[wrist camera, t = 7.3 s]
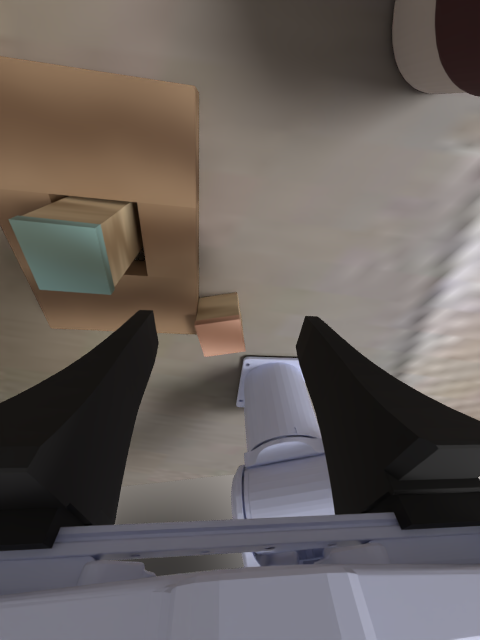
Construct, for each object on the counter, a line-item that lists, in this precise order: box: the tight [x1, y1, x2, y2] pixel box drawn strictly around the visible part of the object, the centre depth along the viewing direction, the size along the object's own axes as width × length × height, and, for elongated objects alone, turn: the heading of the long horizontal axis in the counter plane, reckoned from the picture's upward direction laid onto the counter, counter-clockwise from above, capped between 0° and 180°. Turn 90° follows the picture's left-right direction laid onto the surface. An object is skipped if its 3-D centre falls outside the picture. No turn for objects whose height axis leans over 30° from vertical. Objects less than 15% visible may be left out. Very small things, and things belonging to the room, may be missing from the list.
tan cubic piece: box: [194, 292, 245, 357], centre depth 21 cm, size 4×4×4 cm
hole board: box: [0, 56, 199, 334], centre depth 17 cm, size 16×12×2 cm
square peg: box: [8, 196, 143, 295], centre depth 15 cm, size 4×4×7 cm
